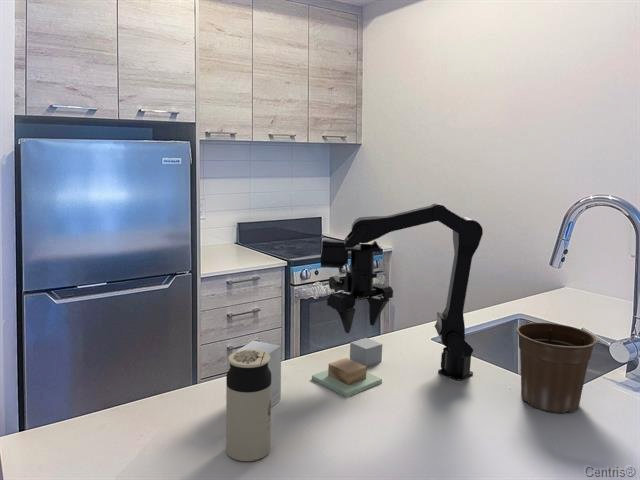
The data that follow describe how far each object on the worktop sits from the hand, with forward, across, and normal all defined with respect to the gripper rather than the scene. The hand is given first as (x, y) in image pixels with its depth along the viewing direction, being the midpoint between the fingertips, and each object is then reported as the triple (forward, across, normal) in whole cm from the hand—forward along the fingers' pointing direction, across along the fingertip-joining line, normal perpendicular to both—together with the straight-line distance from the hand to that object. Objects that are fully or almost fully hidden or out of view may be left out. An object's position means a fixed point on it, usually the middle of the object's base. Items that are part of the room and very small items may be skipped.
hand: (359, 328), depth 130 cm
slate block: (+11, -6, -3) cm, 13 cm away
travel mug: (+11, +43, +12) cm, 46 cm away
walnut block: (+10, +7, +3) cm, 13 cm away
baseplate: (+11, +7, +3) cm, 13 cm away
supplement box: (+11, +30, -2) cm, 32 cm away
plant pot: (+11, -21, +40) cm, 46 cm away
